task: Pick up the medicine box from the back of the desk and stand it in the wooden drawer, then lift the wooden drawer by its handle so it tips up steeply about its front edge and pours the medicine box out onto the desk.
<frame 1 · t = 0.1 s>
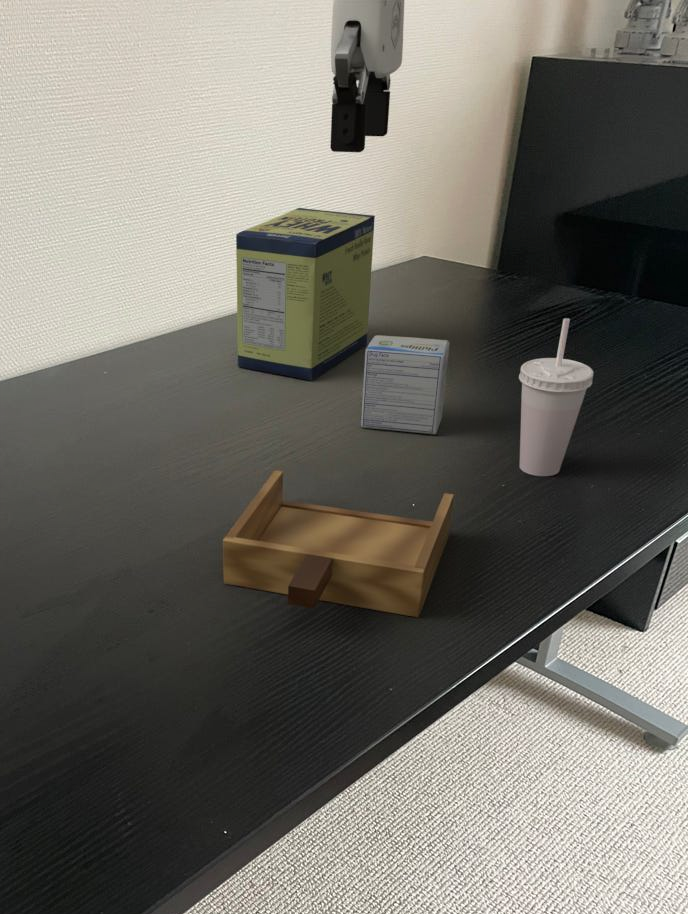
hand: (359, 143, 97), 26 cm above the table, tool pointing down, fingers open, 9 cm apart
medicine box: (401, 426, 103), on the table
smoothie: (539, 469, 94), on the table
wooden drawer: (333, 551, 78), point 2 cm above the table, hinge at 0.0°
protein box: (303, 357, 122), on the table
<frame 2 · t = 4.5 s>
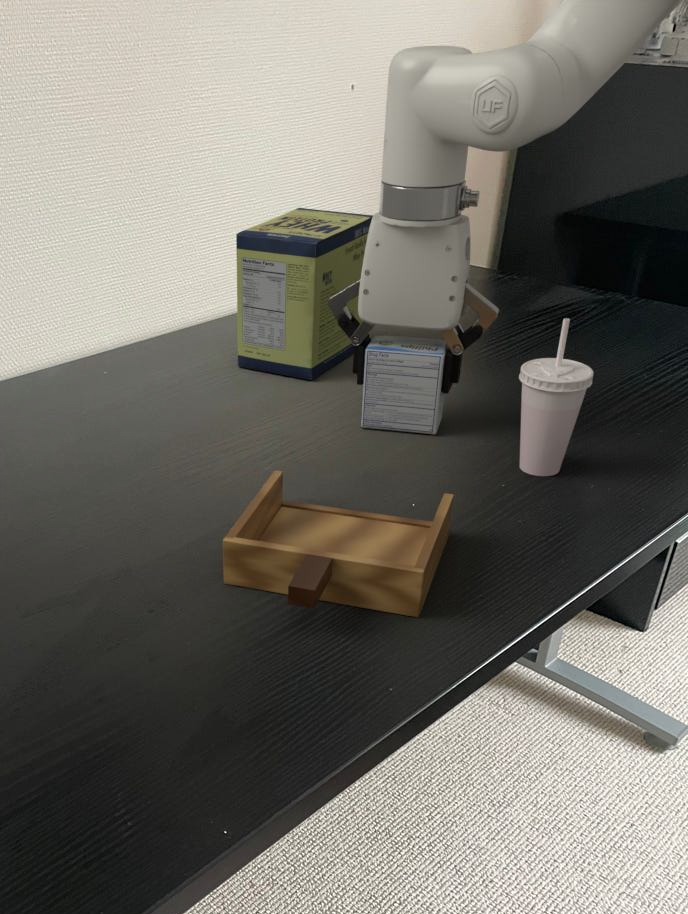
hand: (404, 383, 101), 4 cm above the table, tool pointing down, fingers closed on medicine box, 8 cm apart
medicine box: (401, 426, 103), on the table, touching gripper
everything else where it was.
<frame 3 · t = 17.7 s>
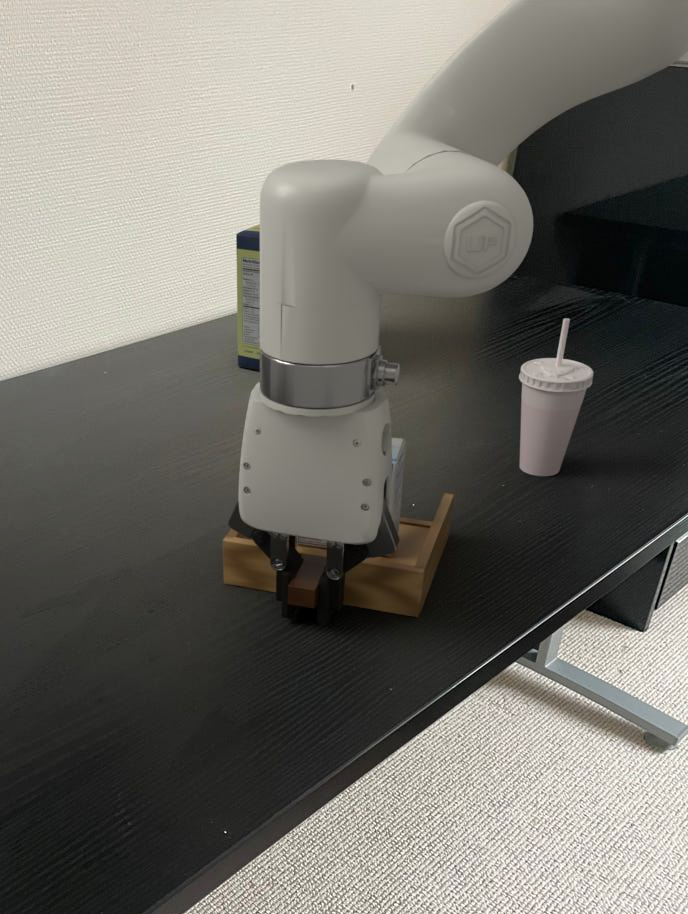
hand: (309, 610, 74), 1 cm above the table, tool pointing down, fingers closed on wooden drawer, 2 cm apart
medicine box: (347, 542, 82), point 1 cm above the table, touching wooden drawer
wooden drawer: (333, 551, 78), point 2 cm above the table, hinge at 0.0°, touching gripper, medicine box
everything else where it was.
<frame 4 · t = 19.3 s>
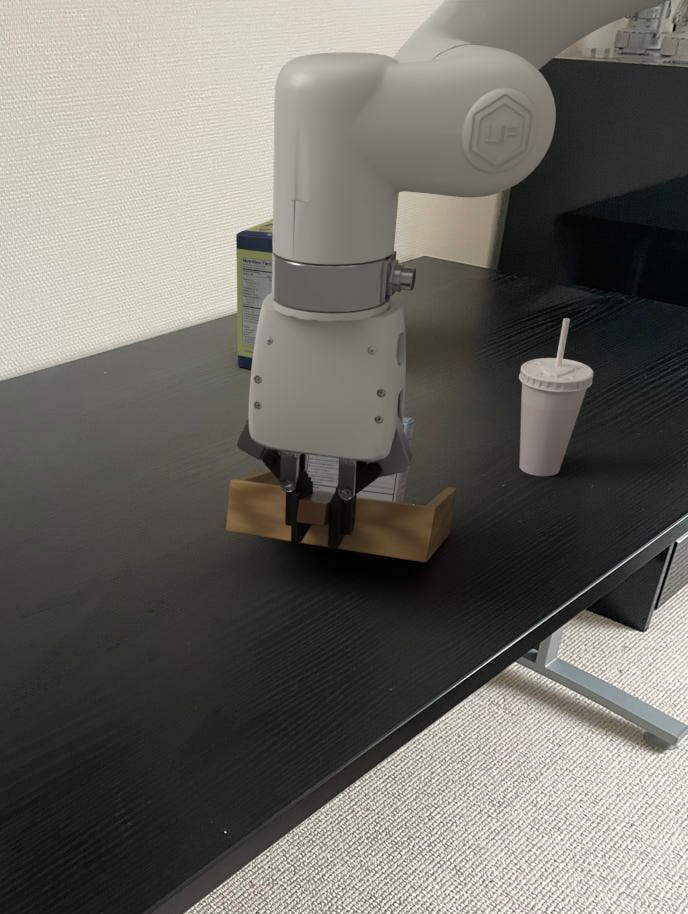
hand: (319, 535, 72), 6 cm above the table, tool pointing down, fingers closed on wooden drawer, 2 cm apart
medicine box: (349, 522, 81), point 2 cm above the table, touching wooden drawer
wooden drawer: (339, 512, 77), point 5 cm above the table, hinge at 18.9°, touching gripper, medicine box
everything else where it was.
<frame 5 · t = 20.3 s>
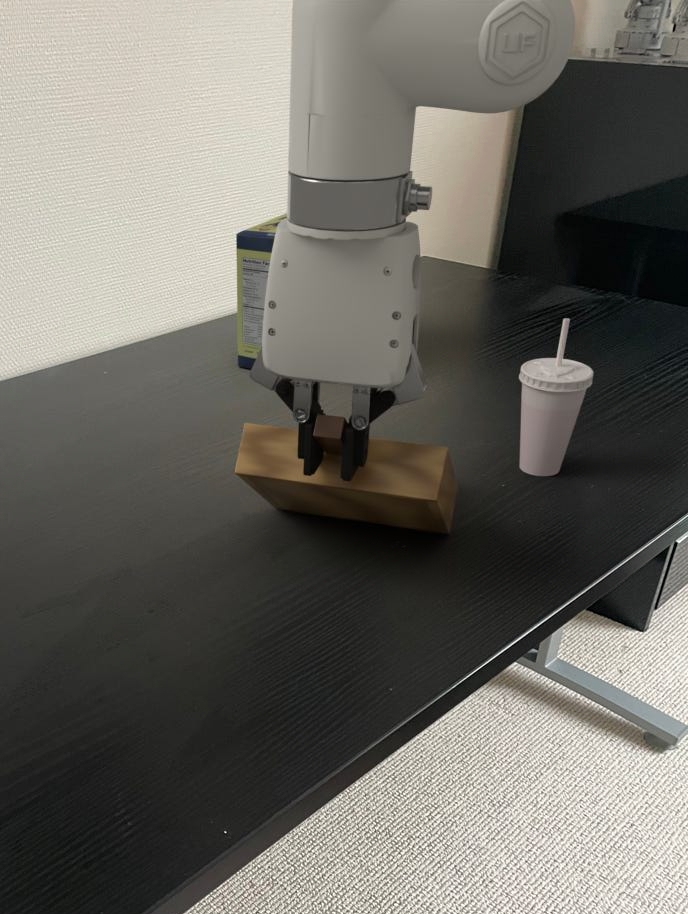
hand: (331, 469, 72), 10 cm above the table, tool pointing down, fingers closed on wooden drawer, 2 cm apart
medicine box: (359, 480, 83), point 4 cm above the table, touching wooden drawer
wooden drawer: (347, 474, 77), point 7 cm above the table, hinge at 38.0°, touching gripper, medicine box
everything else where it was.
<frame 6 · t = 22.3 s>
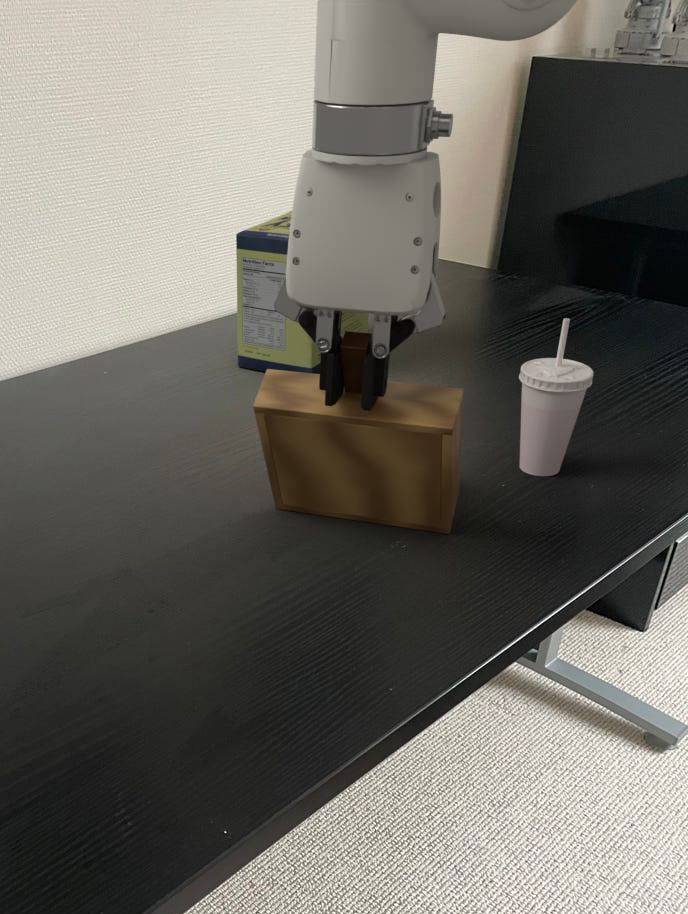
hand: (352, 400, 74), 13 cm above the table, tool pointing down, fingers closed on wooden drawer, 2 cm apart
medicine box: (363, 470, 83), point 5 cm above the table, touching wooden drawer
wooden drawer: (359, 435, 79), point 9 cm above the table, hinge at 62.6°, touching gripper, medicine box
everything else where it was.
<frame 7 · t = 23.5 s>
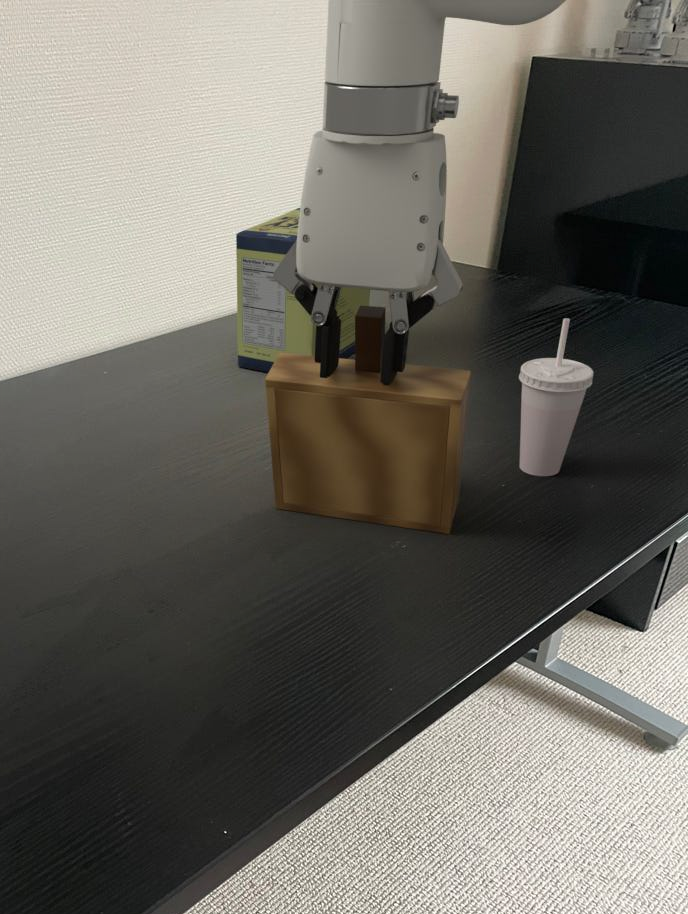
hand: (358, 373, 77), 14 cm above the table, tool pointing down, fingers open, 4 cm apart
wooden drawer: (365, 421, 81), point 9 cm above the table, hinge at 76.1°, touching medicine box
everything else where it was.
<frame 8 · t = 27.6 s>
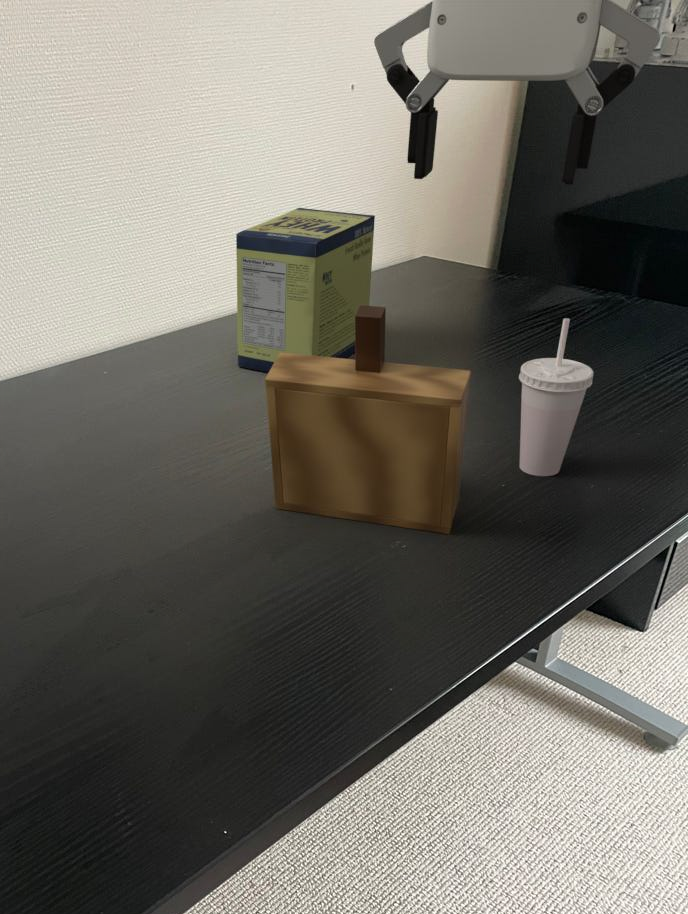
hand: (494, 178, 66), 28 cm above the table, tool pointing down, fingers open, 9 cm apart
nothing on the table moved.
at the end: wooden drawer reached +76° during the clip, +76° at the end; medicine box inside the target area (9.5 cm from its centre), point 4.8 cm above the table; medicine box touching wooden drawer, table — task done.
